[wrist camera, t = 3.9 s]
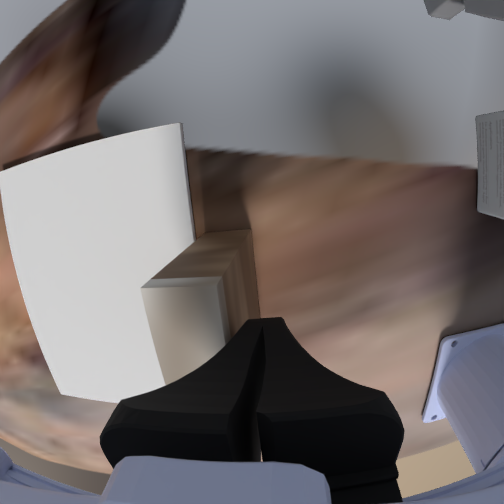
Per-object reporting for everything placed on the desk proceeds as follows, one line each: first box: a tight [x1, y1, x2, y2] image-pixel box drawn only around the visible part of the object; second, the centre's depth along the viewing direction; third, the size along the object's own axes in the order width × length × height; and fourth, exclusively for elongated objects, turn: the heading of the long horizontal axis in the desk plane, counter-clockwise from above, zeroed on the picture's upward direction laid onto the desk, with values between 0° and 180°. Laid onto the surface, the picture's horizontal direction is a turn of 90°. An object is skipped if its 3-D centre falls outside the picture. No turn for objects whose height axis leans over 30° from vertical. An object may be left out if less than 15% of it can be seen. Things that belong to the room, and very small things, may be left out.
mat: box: [0, 123, 196, 403], centre depth 18 cm, size 14×18×1 cm
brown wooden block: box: [140, 229, 260, 385], centre depth 14 cm, size 2×6×8 cm, turn 5°
